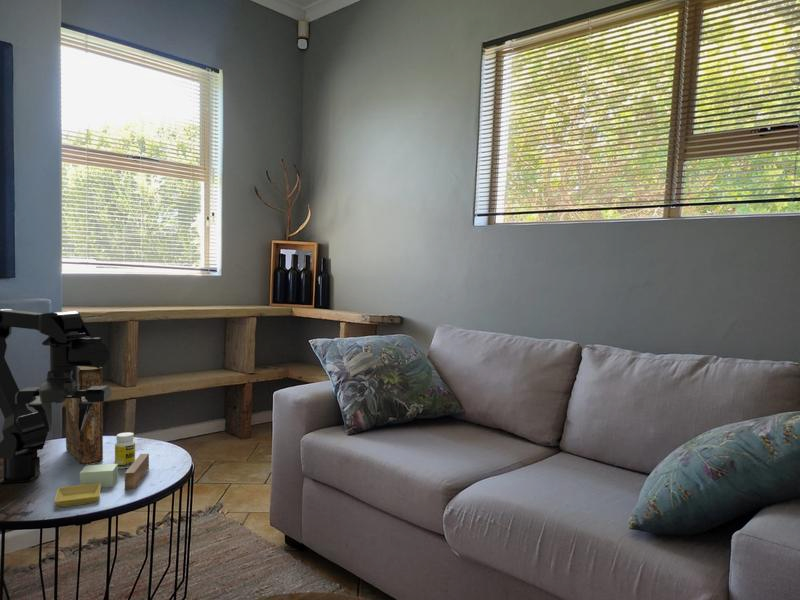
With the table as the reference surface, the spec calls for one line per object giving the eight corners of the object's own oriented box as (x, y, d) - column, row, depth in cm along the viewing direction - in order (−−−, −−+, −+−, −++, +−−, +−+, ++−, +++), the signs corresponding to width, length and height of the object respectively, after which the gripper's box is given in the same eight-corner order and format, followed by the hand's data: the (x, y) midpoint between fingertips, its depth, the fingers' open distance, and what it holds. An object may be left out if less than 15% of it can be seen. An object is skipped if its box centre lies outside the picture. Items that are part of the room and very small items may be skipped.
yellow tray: (101, 490, 132) (101, 482, 132) (100, 504, 124) (100, 495, 124) (57, 496, 128) (57, 487, 128) (54, 511, 120) (53, 501, 120)
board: (124, 490, 132) (124, 473, 131) (140, 469, 145) (140, 453, 145) (134, 489, 132) (133, 472, 132) (148, 468, 146) (148, 453, 145)
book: (104, 461, 150) (104, 368, 149) (81, 465, 147) (80, 370, 146) (87, 446, 163) (87, 360, 161) (66, 450, 159) (65, 362, 158)
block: (80, 489, 132) (79, 472, 132) (86, 481, 137) (86, 465, 136) (112, 487, 134) (112, 470, 133) (117, 479, 138) (117, 463, 138)
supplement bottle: (126, 470, 145) (126, 437, 144) (110, 468, 145) (110, 436, 145) (139, 464, 149) (139, 432, 149) (123, 462, 150) (123, 431, 150)
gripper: (2, 371, 123) (3, 442, 123) (95, 370, 126) (96, 439, 127) (26, 363, 134) (26, 428, 134) (111, 362, 137) (111, 425, 138)
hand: (64, 430), depth 133 cm, fingers open, 6 cm apart
